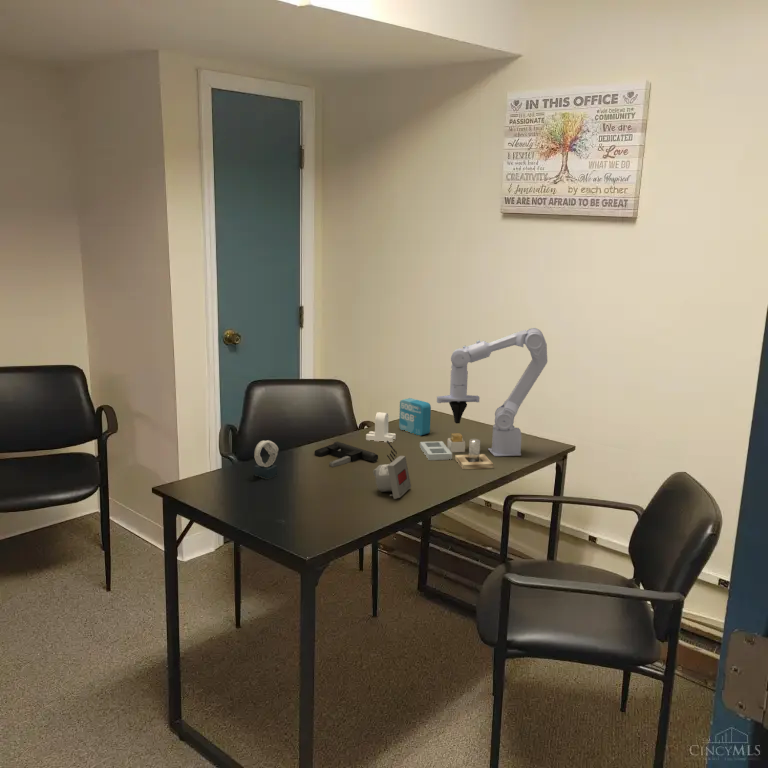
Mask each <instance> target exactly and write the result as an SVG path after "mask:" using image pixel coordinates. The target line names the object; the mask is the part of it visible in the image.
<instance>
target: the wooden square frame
mask: <svg viewBox="0 0 768 768" xmlns="http://www.w3.org/2000/svg"><path fill="white" fill-rule="evenodd" d="M454 460H455V461H456V462H458V463H457V464H458V465H459V466H460V467H461V469H462V470H482V469H494V463H493V462H492V460H490V459H489V458H488V456H486V454H485V453H480V457H479V462H468V461H469V454H455V455H454Z"/></svg>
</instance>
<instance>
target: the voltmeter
mask: <svg viewBox="0 0 768 768" xmlns="http://www.w3.org/2000/svg"><path fill="white" fill-rule="evenodd" d="M386 443H387V444H388V445H389V447H390V448H391V450H390V453H389V454H386V457H387V458H388V460H389V461H390V463H388V464H386V463H385V464H379V465H378V466H377V467H376V468H374V469H373V471H372V473H373V477H375V485H376V487H377V489H378V491H379V492H383V493H385V492H392V494H389V497H393V500H397V499H399V498H401V497H402V496H404V494H405V493H406V492H407V491H409V490H410V489H411V488H412V484H411V479H410V475H409V474H410V473H409V469H408V468H409V467H408V463H407V458H406V456H405V455H399V456H397V454H398V453H397V451H396V449H395V448H394V447H393V446H392V444H391V443H389V441H387V442H386Z"/></svg>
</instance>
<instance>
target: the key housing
mask: <svg viewBox="0 0 768 768" xmlns="http://www.w3.org/2000/svg"><path fill="white" fill-rule="evenodd" d="M446 443H447V445H446V447H447V448H448V449H449V450H450V451H451V453H465V452H466V441H465V440H464V439H463V438H462V442H452V441H451V437H448V438H447V442H446Z"/></svg>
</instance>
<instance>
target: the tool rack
mask: <svg viewBox="0 0 768 768" xmlns="http://www.w3.org/2000/svg"><path fill="white" fill-rule="evenodd" d="M419 448H421V449H420V450H421V451H422V453H423V452H424V453H423V454H424V455H426V456H425V457H426V458H428V459H427V460H428V461H442V460H443V461H448V460H449V459H450V460H451V459H452V460H453V452H451V451H450V450H449V449H448V448H447V445H446V444H445V443H444V441H442V440H440V441H420V442H419Z"/></svg>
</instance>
